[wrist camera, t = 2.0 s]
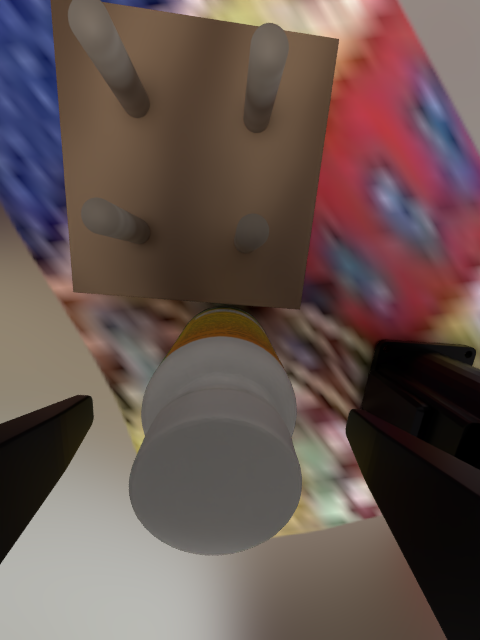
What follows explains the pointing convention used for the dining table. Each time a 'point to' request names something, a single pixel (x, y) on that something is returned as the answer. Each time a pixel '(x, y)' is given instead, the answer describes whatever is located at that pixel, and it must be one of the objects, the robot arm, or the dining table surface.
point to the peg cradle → (189, 152)
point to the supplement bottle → (217, 439)
